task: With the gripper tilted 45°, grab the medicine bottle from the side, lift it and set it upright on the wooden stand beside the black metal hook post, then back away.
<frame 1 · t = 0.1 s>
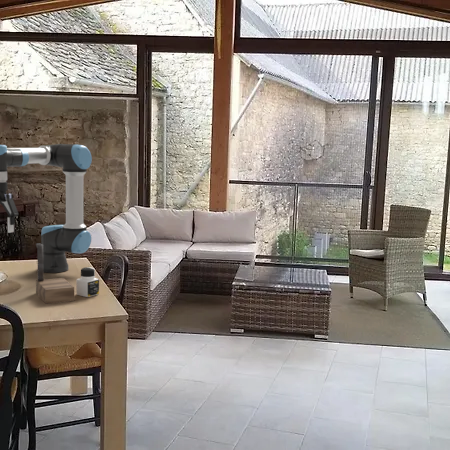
medicine bottle: (87, 295, 273), on the table
wooden stand: (54, 297, 267), on the table
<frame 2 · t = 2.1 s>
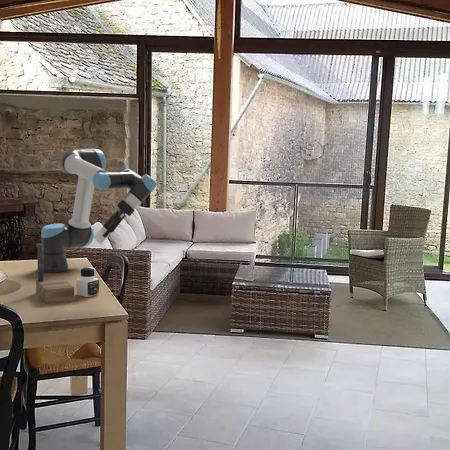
hand: (96, 240, 271), 24 cm above the table, tool tilted 40°, fingers open, 13 cm apart
nothing on the table moved.
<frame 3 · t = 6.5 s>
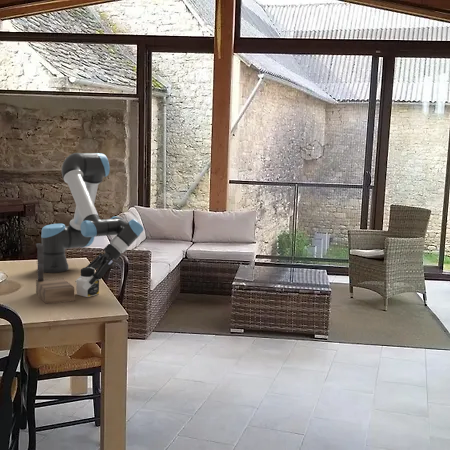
hand: (80, 286, 271), 4 cm above the table, tool tilted 45°, fingers closed on medicine bottle, 9 cm apart
medicine bottle: (87, 294, 273), on the table, touching gripper
when the fingers open (11 cm above the table, at t = 11.7 s): medicine bottle drops 1 cm, resting on wooden stand.
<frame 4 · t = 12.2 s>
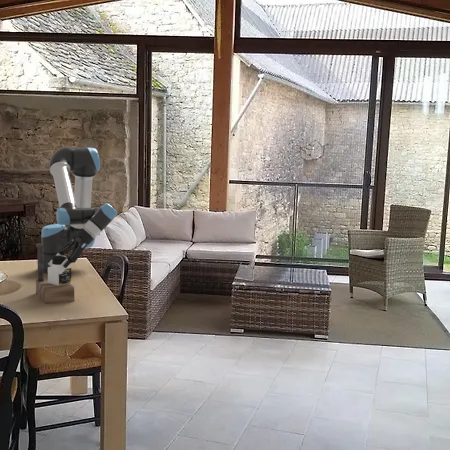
hand: (53, 269, 265), 12 cm above the table, tool tilted 45°, fingers open, 13 cm apart
medicine bottle: (59, 283, 267), point 6 cm above the table, touching wooden stand
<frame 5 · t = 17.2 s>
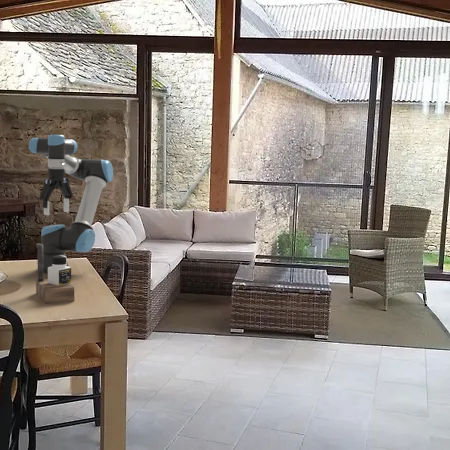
hand: (56, 213, 289), 33 cm above the table, tool pointing down, fingers open, 13 cm apart
nothing on the table moved.
at the end: medicine bottle inside the target area on the wooden stand (2.1 cm from its centre), point 5.8 cm above the wooden stand's base; medicine bottle tilted 0°; the gripper is holding nothing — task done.
